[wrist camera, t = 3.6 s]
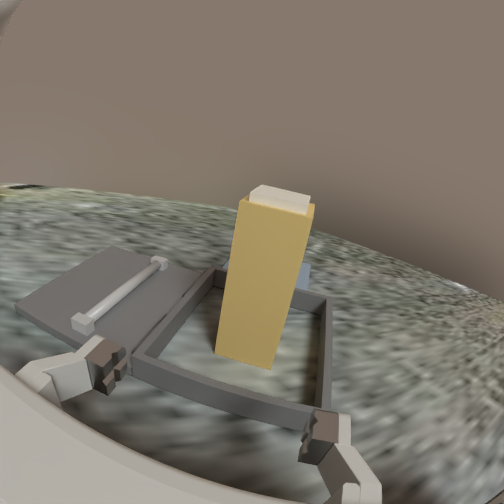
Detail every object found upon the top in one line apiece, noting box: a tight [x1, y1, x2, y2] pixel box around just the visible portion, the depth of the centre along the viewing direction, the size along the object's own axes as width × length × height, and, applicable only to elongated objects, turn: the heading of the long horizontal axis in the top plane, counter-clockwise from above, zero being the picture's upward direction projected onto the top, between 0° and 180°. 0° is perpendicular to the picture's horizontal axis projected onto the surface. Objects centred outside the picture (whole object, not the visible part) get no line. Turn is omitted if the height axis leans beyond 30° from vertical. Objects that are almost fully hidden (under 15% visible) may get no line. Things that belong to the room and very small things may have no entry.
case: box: [14, 246, 332, 431], centre depth 26 cm, size 26×16×2 cm, turn 77°
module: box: [214, 185, 315, 370], centre depth 22 cm, size 4×4×13 cm
